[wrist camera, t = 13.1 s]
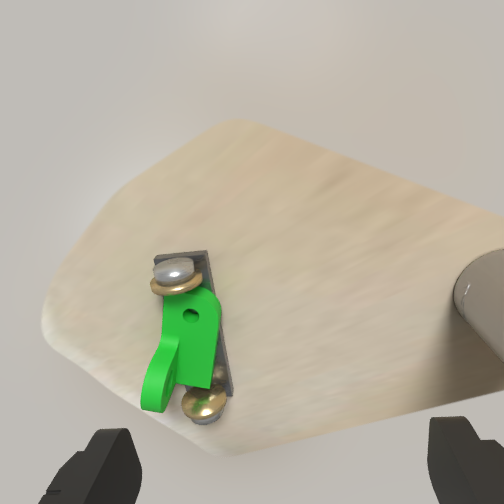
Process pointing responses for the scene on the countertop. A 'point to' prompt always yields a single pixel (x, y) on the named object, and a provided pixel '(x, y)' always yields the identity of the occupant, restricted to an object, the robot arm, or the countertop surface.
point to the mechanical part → (183, 347)
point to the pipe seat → (185, 279)
